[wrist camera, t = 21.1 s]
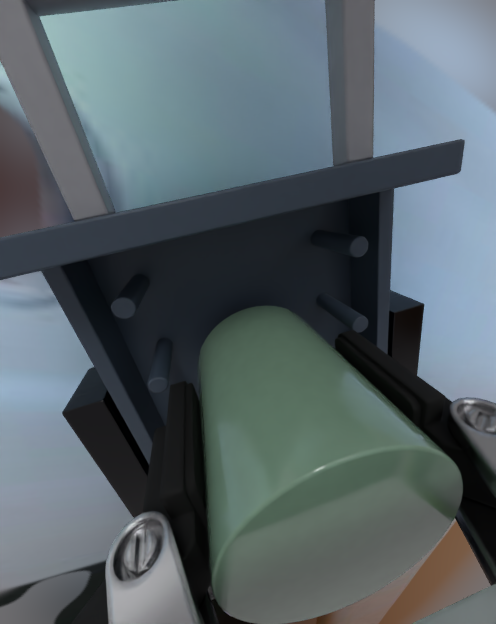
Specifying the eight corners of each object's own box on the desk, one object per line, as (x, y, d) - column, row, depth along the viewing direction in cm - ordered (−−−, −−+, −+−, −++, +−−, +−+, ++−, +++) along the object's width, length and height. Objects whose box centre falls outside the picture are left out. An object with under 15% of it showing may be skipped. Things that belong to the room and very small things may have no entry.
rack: (-20, 54, 8) (-361, -199, 3) (344, 7, 9) (515, -212, 4) (177, 463, 15) (173, 575, 11) (354, 402, 17) (419, 477, 12)
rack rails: (88, 368, 12) (60, 413, 10) (379, 285, 14) (424, 303, 12) (193, 553, 20) (194, 607, 17) (375, 482, 22) (402, 520, 19)
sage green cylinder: (180, 326, 10) (168, 526, 4) (310, 289, 11) (488, 406, 4) (215, 425, 12) (245, 653, 6) (320, 390, 13) (447, 562, 7)
